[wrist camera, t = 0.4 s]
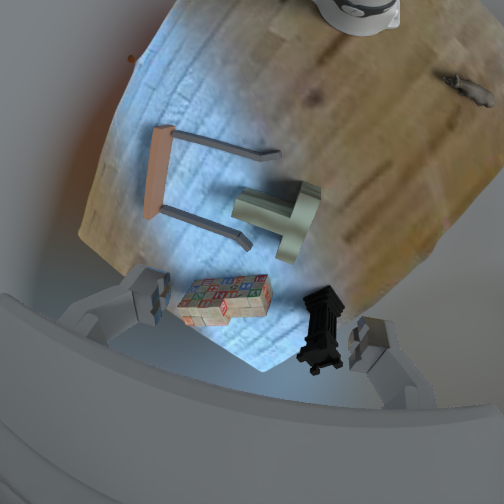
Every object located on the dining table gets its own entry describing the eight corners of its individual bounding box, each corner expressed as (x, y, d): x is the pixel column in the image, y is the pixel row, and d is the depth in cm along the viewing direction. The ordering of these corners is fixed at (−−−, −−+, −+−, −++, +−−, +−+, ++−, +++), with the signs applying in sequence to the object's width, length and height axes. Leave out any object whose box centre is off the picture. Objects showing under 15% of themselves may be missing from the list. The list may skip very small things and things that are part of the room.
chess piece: (344, 306, 68) (345, 367, 52) (318, 317, 72) (312, 377, 55) (330, 285, 66) (327, 346, 49) (303, 297, 70) (293, 357, 53)
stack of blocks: (268, 273, 69) (257, 305, 59) (273, 293, 72) (264, 325, 61) (194, 279, 76) (175, 307, 66) (202, 297, 79) (185, 326, 68)
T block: (253, 163, 56) (243, 172, 49) (320, 188, 55) (320, 200, 48) (236, 223, 64) (225, 239, 57) (296, 246, 63) (293, 264, 56)
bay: (168, 119, 55) (154, 122, 50) (283, 151, 53) (279, 156, 48) (155, 212, 68) (142, 221, 63) (252, 247, 66) (245, 260, 61)
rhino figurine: (437, 68, 35) (449, 65, 30) (487, 94, 33) (501, 95, 28) (435, 85, 37) (447, 84, 32) (485, 110, 35) (499, 113, 30)
